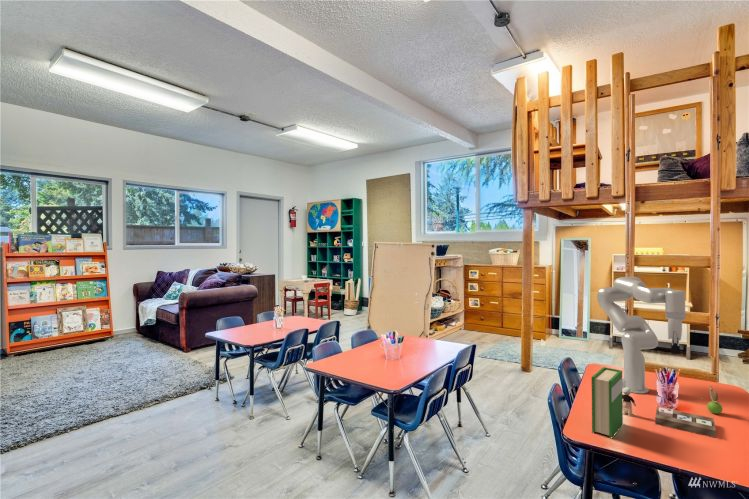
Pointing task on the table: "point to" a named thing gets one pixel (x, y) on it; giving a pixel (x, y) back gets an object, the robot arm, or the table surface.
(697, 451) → the table surface
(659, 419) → the counting board
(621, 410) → the hardback book
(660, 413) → the two dot tile
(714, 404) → the snail figurine
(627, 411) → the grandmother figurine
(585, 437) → the table surface
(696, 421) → the cream knobbed tile
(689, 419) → the three dot tile
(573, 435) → the table surface
